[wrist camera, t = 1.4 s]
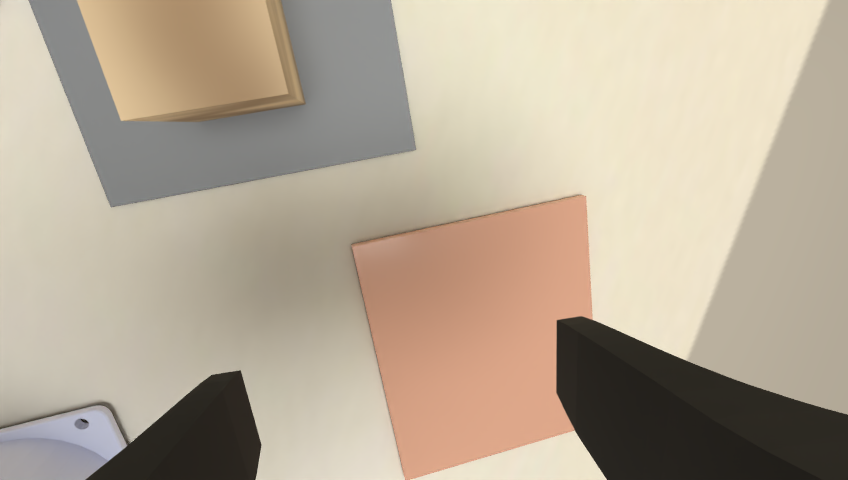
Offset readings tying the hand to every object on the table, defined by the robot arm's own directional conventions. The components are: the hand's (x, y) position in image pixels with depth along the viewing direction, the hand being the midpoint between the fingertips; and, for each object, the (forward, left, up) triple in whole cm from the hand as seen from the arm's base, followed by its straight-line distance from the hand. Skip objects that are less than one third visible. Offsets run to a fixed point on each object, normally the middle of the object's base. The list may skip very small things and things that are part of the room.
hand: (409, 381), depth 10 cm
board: (+5, -6, -10) cm, 12 cm away
